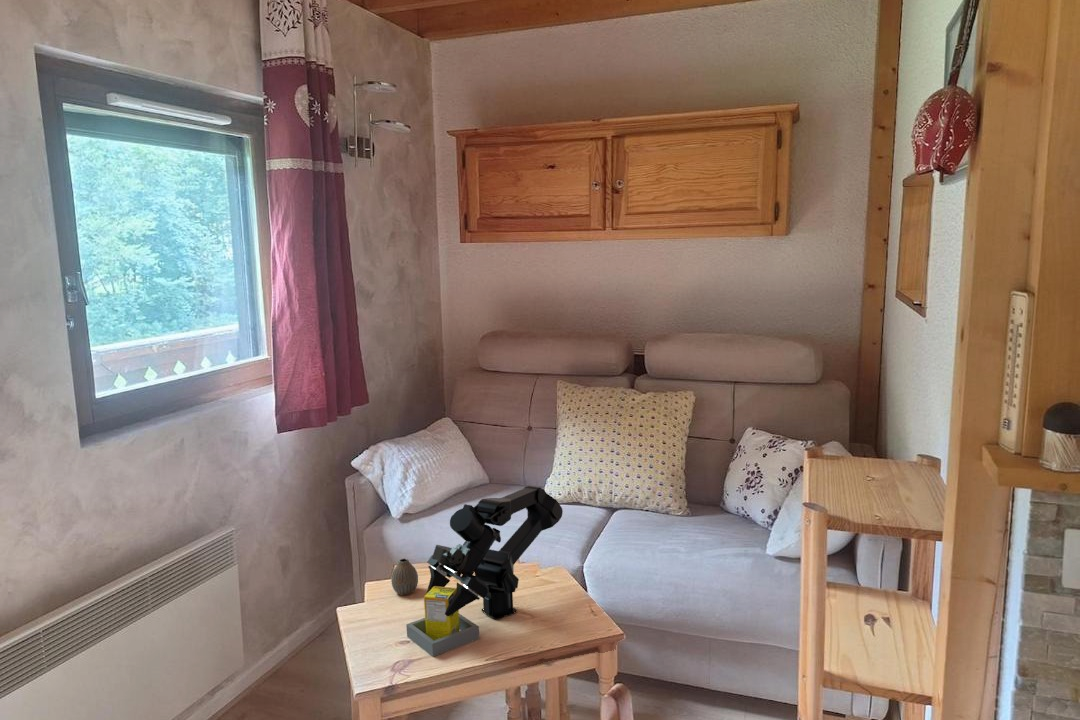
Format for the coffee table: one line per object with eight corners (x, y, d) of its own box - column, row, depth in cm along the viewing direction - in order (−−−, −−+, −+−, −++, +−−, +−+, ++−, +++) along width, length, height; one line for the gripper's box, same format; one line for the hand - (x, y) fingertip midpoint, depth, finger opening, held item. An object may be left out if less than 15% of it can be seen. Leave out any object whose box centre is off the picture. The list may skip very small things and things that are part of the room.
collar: (452, 620, 179) (451, 608, 178) (479, 638, 169) (478, 626, 169) (407, 636, 171) (406, 624, 171) (432, 656, 162) (432, 643, 162)
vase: (413, 598, 191) (411, 566, 190) (388, 597, 193) (385, 564, 192) (422, 587, 198) (420, 555, 197) (398, 585, 199) (396, 554, 198)
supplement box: (460, 632, 173) (457, 587, 171) (450, 645, 167) (448, 598, 166) (436, 630, 174) (433, 585, 173) (426, 642, 168) (423, 596, 167)
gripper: (432, 521, 177) (392, 578, 172) (474, 542, 162) (432, 605, 157) (462, 544, 183) (424, 600, 177) (505, 567, 168) (466, 629, 163)
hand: (435, 608), depth 169 cm, fingers open, 9 cm apart
